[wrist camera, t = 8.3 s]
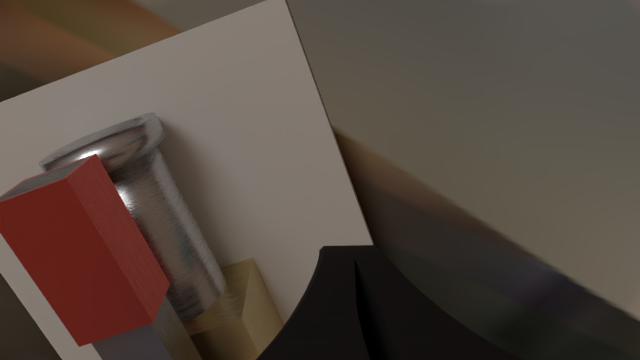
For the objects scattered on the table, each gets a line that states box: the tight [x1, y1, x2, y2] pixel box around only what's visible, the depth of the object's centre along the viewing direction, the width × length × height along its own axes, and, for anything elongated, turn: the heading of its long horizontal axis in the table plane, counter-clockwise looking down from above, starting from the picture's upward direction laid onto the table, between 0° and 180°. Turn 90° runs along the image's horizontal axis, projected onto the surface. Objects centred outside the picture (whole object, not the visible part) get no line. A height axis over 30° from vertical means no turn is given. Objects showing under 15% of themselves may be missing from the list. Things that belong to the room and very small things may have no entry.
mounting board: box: [0, 0, 374, 360], centre depth 21 cm, size 22×14×1 cm, turn 19°
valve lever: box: [0, 153, 202, 360], centre depth 14 cm, size 10×3×2 cm, turn 20°
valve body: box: [39, 112, 284, 360], centre depth 19 cm, size 18×5×4 cm, turn 19°
